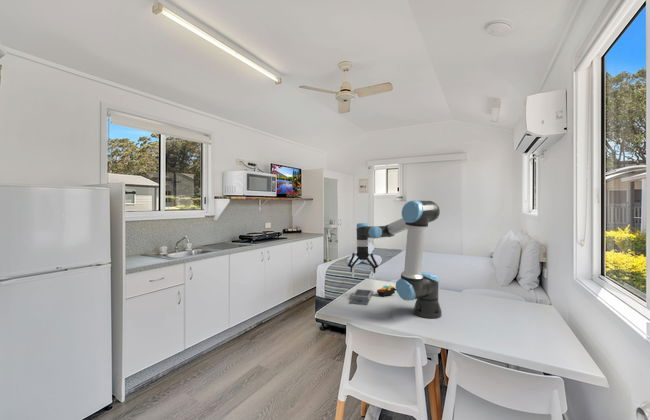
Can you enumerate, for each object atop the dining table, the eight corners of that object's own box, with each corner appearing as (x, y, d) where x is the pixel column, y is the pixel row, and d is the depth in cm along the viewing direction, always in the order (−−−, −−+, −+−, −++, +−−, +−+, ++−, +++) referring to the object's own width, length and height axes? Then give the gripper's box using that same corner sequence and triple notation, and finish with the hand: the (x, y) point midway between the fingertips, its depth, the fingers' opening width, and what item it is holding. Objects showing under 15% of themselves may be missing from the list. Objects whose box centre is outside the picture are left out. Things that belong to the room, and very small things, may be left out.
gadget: (374, 294, 195) (374, 286, 195) (390, 292, 201) (390, 284, 201) (380, 297, 190) (380, 288, 190) (396, 295, 195) (396, 286, 195)
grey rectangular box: (367, 305, 175) (367, 300, 175) (349, 303, 178) (349, 298, 178) (373, 292, 202) (373, 288, 202) (358, 291, 205) (358, 287, 205)
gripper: (381, 245, 191) (382, 277, 190) (345, 245, 198) (346, 275, 198) (380, 246, 184) (381, 279, 183) (343, 246, 191) (343, 277, 191)
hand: (363, 277), depth 191 cm, fingers open, 13 cm apart
